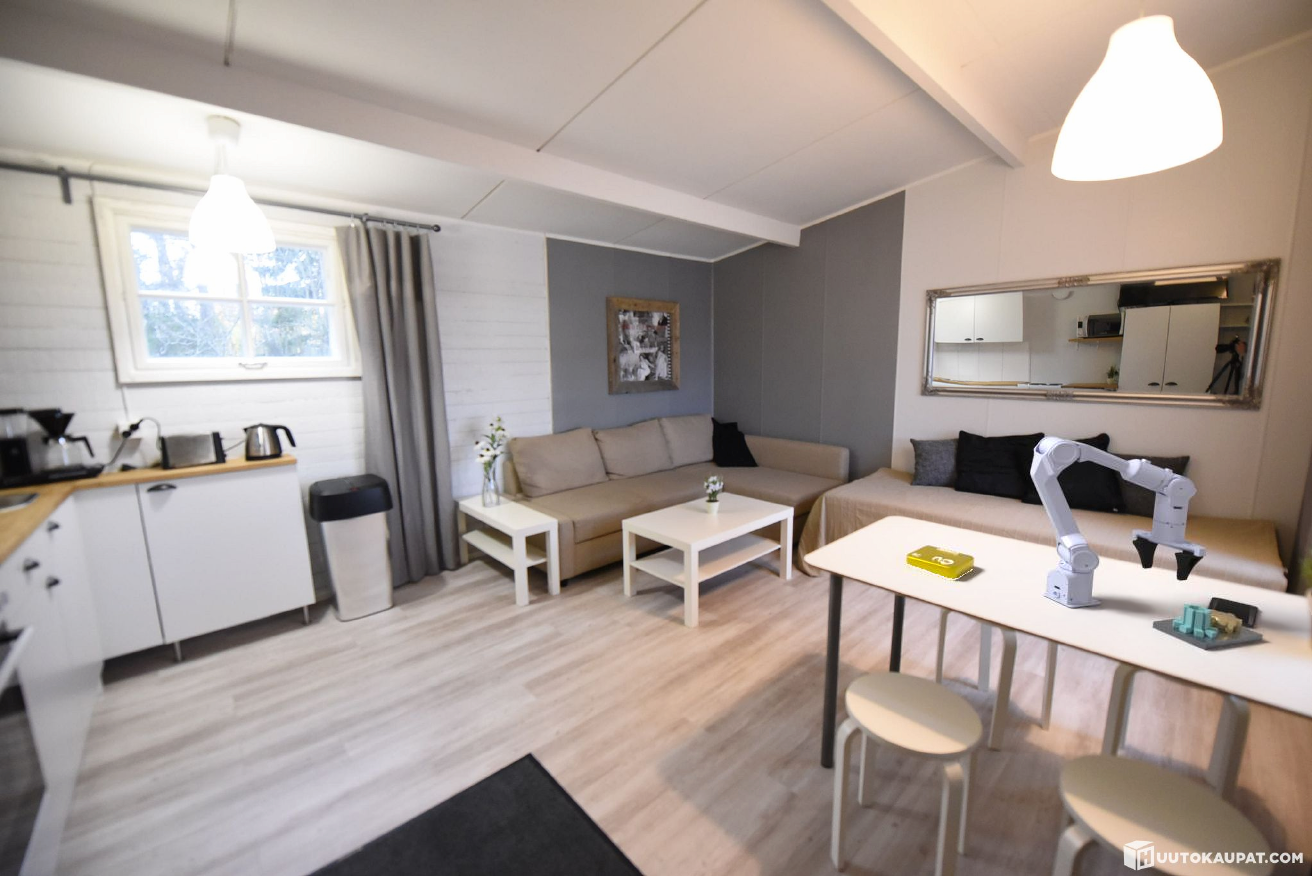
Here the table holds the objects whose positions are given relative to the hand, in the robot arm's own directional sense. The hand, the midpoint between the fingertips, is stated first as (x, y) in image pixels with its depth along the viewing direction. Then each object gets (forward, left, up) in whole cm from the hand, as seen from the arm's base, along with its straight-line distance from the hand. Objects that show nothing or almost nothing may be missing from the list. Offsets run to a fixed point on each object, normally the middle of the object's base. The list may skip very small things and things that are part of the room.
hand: (1163, 573), depth 126 cm
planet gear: (-7, -12, -8) cm, 16 cm away
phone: (+14, -6, -10) cm, 18 cm away
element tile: (-33, +37, -10) cm, 51 cm away
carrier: (-4, -12, -9) cm, 15 cm away
